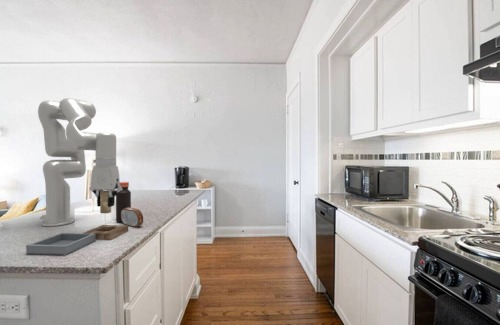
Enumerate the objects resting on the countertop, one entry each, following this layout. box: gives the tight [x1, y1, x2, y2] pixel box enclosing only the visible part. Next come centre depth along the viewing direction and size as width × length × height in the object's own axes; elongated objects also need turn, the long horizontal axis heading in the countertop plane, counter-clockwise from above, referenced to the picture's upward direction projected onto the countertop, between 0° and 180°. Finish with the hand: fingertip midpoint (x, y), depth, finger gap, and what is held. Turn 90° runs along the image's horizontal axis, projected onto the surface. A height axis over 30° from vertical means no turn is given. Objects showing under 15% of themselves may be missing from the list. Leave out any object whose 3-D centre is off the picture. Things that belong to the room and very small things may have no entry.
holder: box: [83, 224, 129, 241], centre depth 103 cm, size 12×12×2 cm
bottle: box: [115, 181, 132, 224], centre depth 125 cm, size 7×7×20 cm
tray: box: [25, 232, 97, 256], centre depth 88 cm, size 14×14×3 cm
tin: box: [121, 207, 144, 228], centre depth 117 cm, size 15×3×8 cm, turn 58°
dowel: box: [99, 190, 112, 214], centre depth 103 cm, size 4×4×9 cm
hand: (105, 205), depth 103 cm, fingers closed on dowel, 4 cm apart
